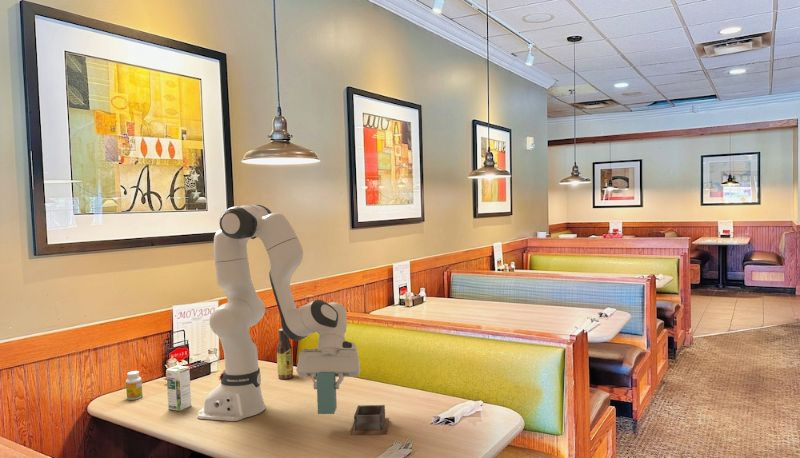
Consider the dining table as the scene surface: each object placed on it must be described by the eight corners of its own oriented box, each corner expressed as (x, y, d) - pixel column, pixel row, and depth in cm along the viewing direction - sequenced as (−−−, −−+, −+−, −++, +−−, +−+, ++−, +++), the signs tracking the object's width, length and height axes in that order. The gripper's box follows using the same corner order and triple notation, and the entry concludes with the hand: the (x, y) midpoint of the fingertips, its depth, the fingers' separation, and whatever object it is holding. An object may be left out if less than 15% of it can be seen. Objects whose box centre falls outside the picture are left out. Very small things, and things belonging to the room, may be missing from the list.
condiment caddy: (350, 434, 167) (349, 417, 166) (355, 421, 177) (354, 404, 176) (386, 434, 166) (385, 416, 166) (389, 420, 176) (388, 404, 176)
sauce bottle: (289, 380, 221) (287, 331, 220) (275, 379, 222) (272, 331, 221) (296, 374, 227) (293, 327, 226) (282, 374, 229) (279, 327, 228)
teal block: (317, 414, 170) (316, 376, 169) (321, 407, 175) (319, 370, 174) (333, 414, 169) (332, 375, 169) (336, 407, 174) (335, 370, 174)
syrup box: (167, 409, 195) (164, 369, 194) (180, 403, 200) (178, 364, 199) (179, 411, 192) (176, 371, 191) (192, 405, 197) (189, 366, 197)
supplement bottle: (123, 399, 207) (121, 374, 206) (135, 394, 212) (133, 369, 211) (134, 400, 205) (132, 375, 204) (145, 395, 210) (144, 370, 209)
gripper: (297, 344, 178) (291, 384, 169) (360, 343, 177) (356, 383, 168) (301, 353, 183) (295, 393, 174) (362, 353, 182) (359, 392, 173)
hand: (326, 388), depth 171 cm, fingers closed on teal block, 5 cm apart
